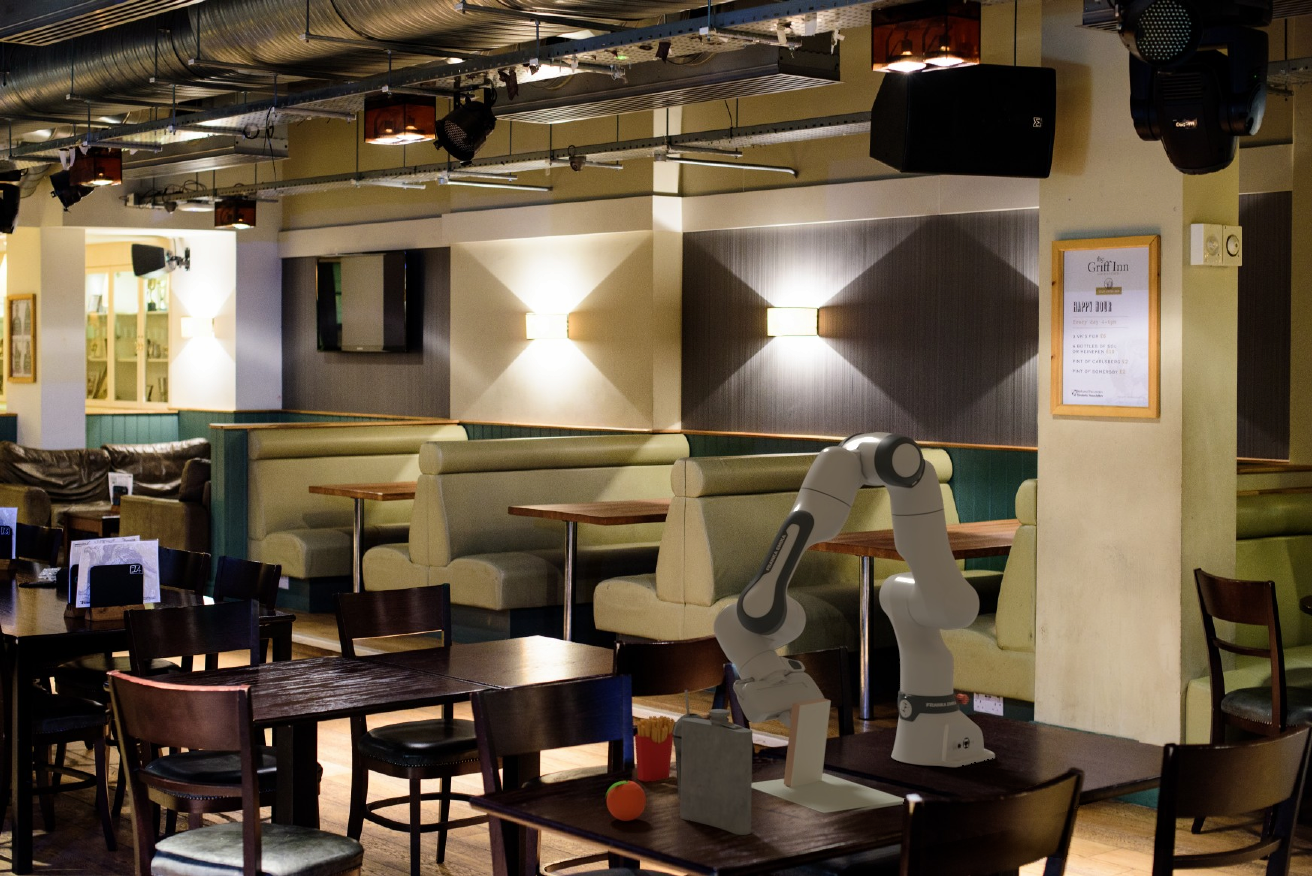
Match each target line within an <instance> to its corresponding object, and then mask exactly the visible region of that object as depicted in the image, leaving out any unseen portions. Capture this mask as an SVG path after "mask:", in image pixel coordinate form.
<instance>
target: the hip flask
mask: <svg viewBox="0 0 1312 876" xmlns="http://www.w3.org/2000/svg"><path fill="white" fill-rule="evenodd" d="M708 713H709V714H708V716H709V717H710V720H709V719H705V718H704V719H698V718H683V719H682V753H681V798H680V814H679V815H680V819H681V820H685V821H689V820H690V822H694V823H699V824H704V825H707V826H711V827H713V828H714V827H715V828H718V829H721V830H724V831H727V832H729V833H731V834H734V835H737V836H738V835H739V836H743V835H749V834H751V833H752V789H753V788H752V783H753V781H752V780H753V730H752V729H749V728H746V727H743V726H742V725H739V724H736V723H733V722H730V721H729V720H730V719H729V717H730V716H731V711H730V710H728V709H724V708H723V709H722V708H719V709H718V708H716V709H710V710H709V711H708Z"/></svg>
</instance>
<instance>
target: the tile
mask: <svg viewBox="0 0 1312 876" xmlns="http://www.w3.org/2000/svg"><path fill="white" fill-rule="evenodd" d="M831 702H832V701H831V700H830V699H827V698H825V697H824V698H820V699H814V700H809V701H803V702H797V703H793V705H792V714H791V723H790V729H789V734H788V744H787V753H786V759H785V768H784V777H783V779H784V785H787V786H789V787H795V786H799V785H804V784H808V783H812V782H817V781H821V780H822V774H823V772H824V762H825V754H826V745H827V738H828V737H827V735H828V730H829V729H828V727H829V720H830V710H831Z"/></svg>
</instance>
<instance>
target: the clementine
mask: <svg viewBox="0 0 1312 876" xmlns="http://www.w3.org/2000/svg"><path fill="white" fill-rule="evenodd" d="M646 797H647V796H646V794H645V791H644V789H643V788H642V786H640V784H638V783H636V782H635V781H632V780H628V779H625V780H621V781H618V782H617V781H616V782H615V783H613V784H612V785H611V786H609V788H608V789H607V792H606V793H605V797H604V799H606V806H607V809H608V812H610V814H611V815H612V816H613V817H614V818H615V819H617V820H620V821H622V822H623V821H624V822H630V821H633V820H636V819H637V818H638V817H640V816H641V814H642V813H643V812H644V810H645V808H646V803H647V802H646V801H647V798H646Z"/></svg>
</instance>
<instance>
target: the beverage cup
mask: <svg viewBox="0 0 1312 876" xmlns="http://www.w3.org/2000/svg"><path fill="white" fill-rule="evenodd" d="M688 693H689V692H688V689H684V696H685V697H684V698H685V707H686V708H685V709H686V714H684V715H681V716H680V717H679V718H678V719H677V720H676V721H675V723H674V727H673V731H672V732H673V734H672V736H673V742H672V743H673V746H674V755H675V767H676V768H675V769H676V771H675V772H676V782H677V785H676V786H677V792H678V793H677V794H678V797H679V798H680V799H681V753H682V719H683V718H698V719H705V718H704V717H703V716H701V715H699V714H697V713H690V704H689V696H688V695H689V694H688Z"/></svg>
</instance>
